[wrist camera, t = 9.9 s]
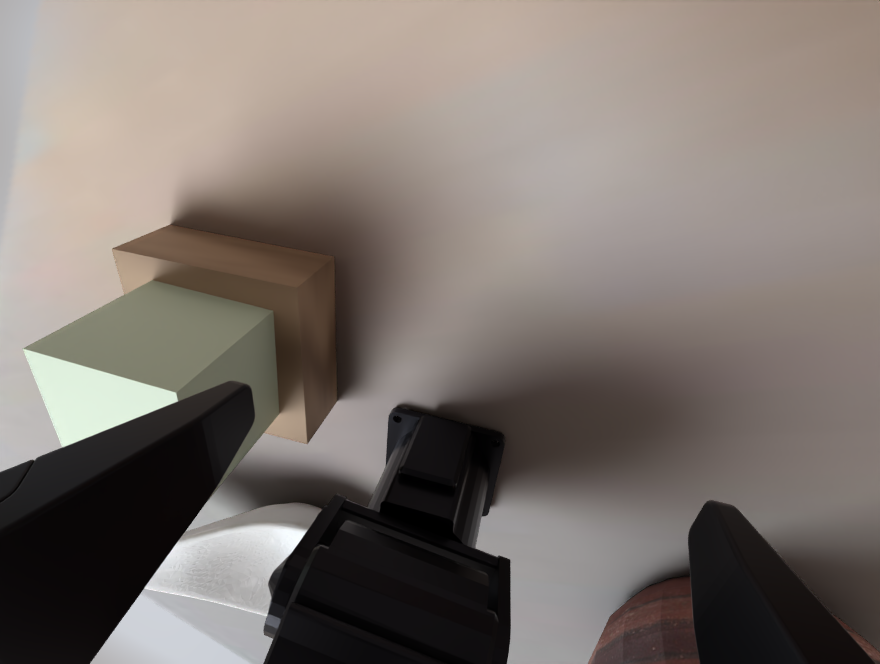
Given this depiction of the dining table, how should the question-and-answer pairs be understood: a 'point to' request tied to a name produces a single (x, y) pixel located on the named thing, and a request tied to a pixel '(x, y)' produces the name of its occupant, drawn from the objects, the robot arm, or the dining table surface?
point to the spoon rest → (235, 556)
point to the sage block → (155, 360)
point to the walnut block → (262, 285)
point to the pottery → (663, 629)
